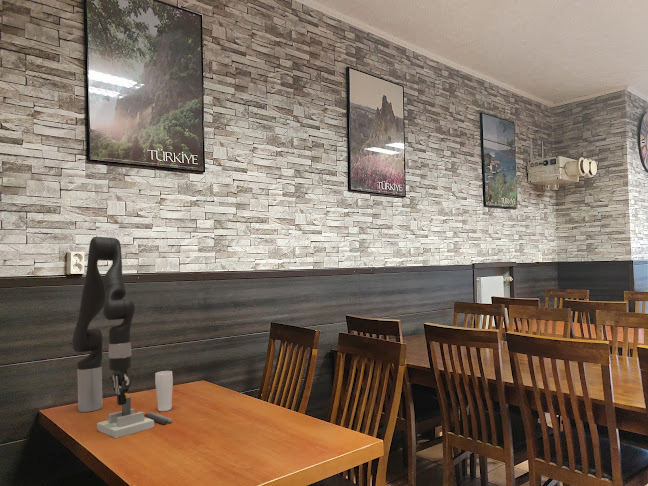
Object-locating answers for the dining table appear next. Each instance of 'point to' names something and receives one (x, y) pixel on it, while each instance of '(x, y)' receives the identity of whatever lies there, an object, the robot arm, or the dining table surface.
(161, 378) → the drinking glass
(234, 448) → the dining table surface
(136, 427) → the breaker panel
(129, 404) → the lever
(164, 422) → the cable bundle
